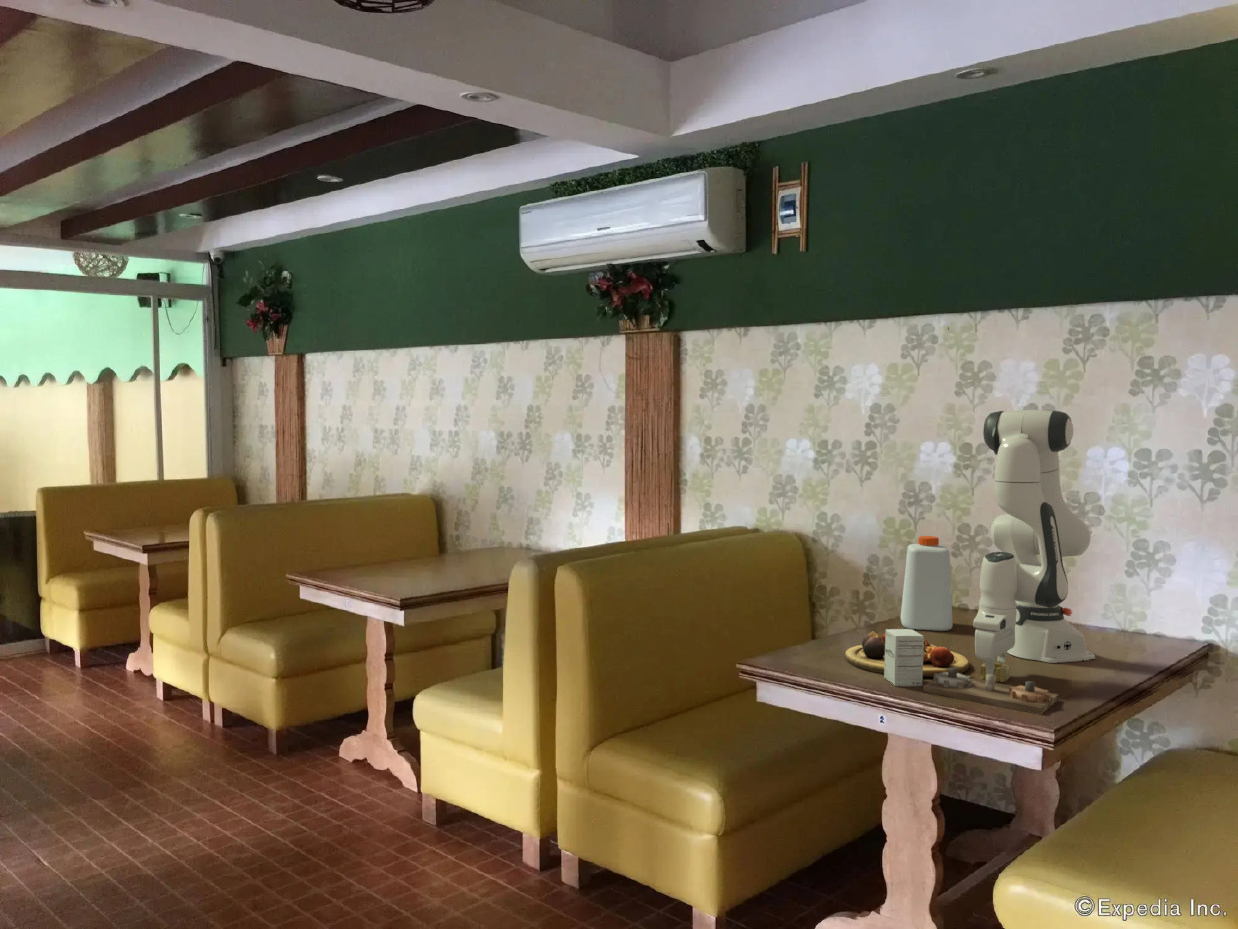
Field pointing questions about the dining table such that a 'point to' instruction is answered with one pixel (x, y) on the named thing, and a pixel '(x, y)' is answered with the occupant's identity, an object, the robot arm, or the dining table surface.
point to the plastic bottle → (927, 586)
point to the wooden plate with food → (933, 657)
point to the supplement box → (904, 657)
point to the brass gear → (997, 672)
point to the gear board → (991, 691)
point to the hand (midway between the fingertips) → (995, 671)
